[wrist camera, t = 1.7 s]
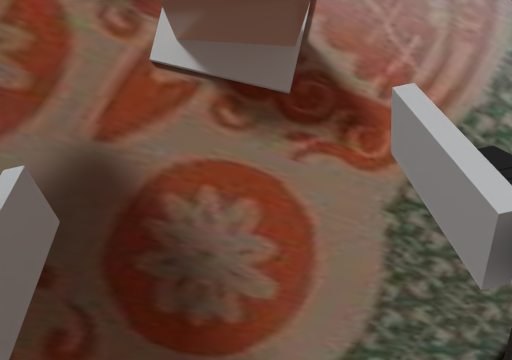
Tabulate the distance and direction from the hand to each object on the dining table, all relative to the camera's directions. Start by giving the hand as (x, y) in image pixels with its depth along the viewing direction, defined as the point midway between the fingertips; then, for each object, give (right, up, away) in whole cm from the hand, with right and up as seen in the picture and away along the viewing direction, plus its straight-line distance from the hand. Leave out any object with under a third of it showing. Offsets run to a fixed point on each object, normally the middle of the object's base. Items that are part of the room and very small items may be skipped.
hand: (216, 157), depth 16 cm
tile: (0, +12, +21) cm, 24 cm away
